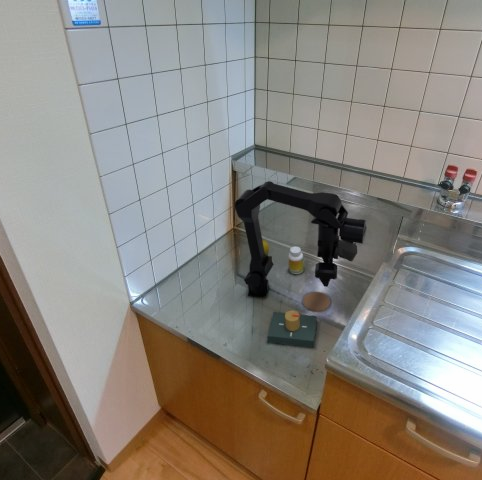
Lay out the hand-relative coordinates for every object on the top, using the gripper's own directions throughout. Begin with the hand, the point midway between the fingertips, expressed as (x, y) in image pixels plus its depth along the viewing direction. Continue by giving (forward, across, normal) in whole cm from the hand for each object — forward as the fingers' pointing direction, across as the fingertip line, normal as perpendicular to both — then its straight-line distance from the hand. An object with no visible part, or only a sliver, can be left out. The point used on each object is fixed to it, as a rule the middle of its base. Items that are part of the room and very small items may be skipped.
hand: (326, 276), depth 117 cm
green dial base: (+14, -12, +10) cm, 21 cm away
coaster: (+14, +2, +3) cm, 14 cm away
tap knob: (+11, -12, +10) cm, 19 cm away
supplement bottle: (+14, +18, +12) cm, 26 cm away
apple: (+14, +25, +27) cm, 39 cm away
